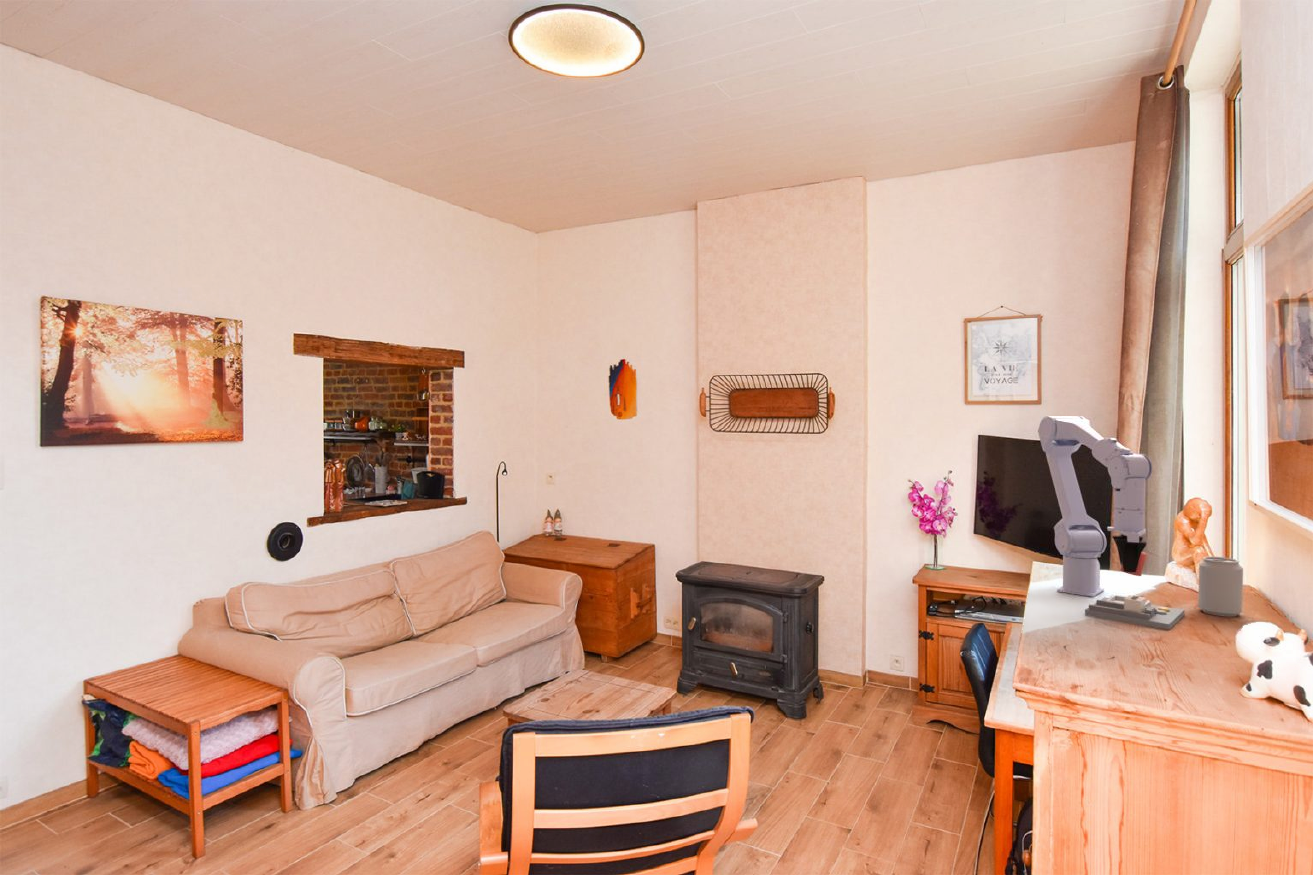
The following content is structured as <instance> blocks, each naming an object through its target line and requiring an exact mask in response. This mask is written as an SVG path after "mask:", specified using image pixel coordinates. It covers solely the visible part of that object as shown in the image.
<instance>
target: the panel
mask: <svg viewBox="0 0 1313 875" xmlns="http://www.w3.org/2000/svg"><path fill="white" fill-rule="evenodd" d="M1126 597H1127V596H1124V595H1118V594H1117V595H1116V594H1115V595H1113V594H1112V595H1111V596H1109V597H1105V596H1104V597H1103V598H1101V599H1096V600H1095V601H1096V602H1095V603H1094V604H1088V607H1086V609H1084V616H1087V617H1091V618H1092V617H1093V618H1099V619H1104V620H1110V621H1115V622H1121V623H1126V624H1130V625H1131V624H1132V625H1137V626H1144V627H1150V628H1156V629H1159V630H1160V629H1161V630H1166V631H1170V630H1171V629H1172V628H1173V627H1174V626H1175V625H1176V624H1177V623H1179V621H1180V620H1182V618H1183V617H1184V616H1185V609H1182V608H1174V607H1169V606H1168V607H1167V606H1163V605H1156V604H1151V601H1150V600H1149V599H1146V604H1145V613H1139V612H1133V611H1127V610H1124V598H1126Z"/></svg>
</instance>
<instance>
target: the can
mask: <svg viewBox="0 0 1313 875" xmlns="http://www.w3.org/2000/svg"><path fill="white" fill-rule="evenodd" d="M1239 563H1240V560H1238V559H1236V558H1235V559H1234V558H1229V557H1225V556H1224V557H1223V556H1204V557H1202V561H1201V562H1200V563H1198V599H1197V600H1198V603H1197V604H1198V605H1197V606H1198V608H1200V609H1201V610H1202V612H1203V613H1206V614H1210V615H1213V616H1220V617H1230V618H1231V617H1232V618H1233V617H1237V616H1238V615H1240V614H1241V613H1242V612H1243V591H1244V590H1243V589H1244V588H1243V587H1244V585H1243V584H1244V568H1243V567H1242V566H1241V565H1240V564H1239Z"/></svg>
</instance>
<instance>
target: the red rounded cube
mask: <svg viewBox="0 0 1313 875" xmlns="http://www.w3.org/2000/svg"><path fill="white" fill-rule="evenodd" d="M1147 558H1148V553H1147V552H1145V551H1142V553H1141V555H1140V559H1139V563H1138V567H1137V570H1136V573H1134V572H1124V569H1123V565H1121V564H1120V568H1119V571H1121V572H1123V573H1125V574H1129V575H1133V576H1136V577H1142V575H1143V571H1144V568H1145V564H1146V562H1147Z"/></svg>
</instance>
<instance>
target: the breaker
mask: <svg viewBox="0 0 1313 875" xmlns="http://www.w3.org/2000/svg"><path fill="white" fill-rule="evenodd" d="M1125 597H1126V598H1124V610H1127V611H1133V612H1139V613H1145V604H1146V600H1147V599H1146V597H1143V596H1137V595H1127V596H1125Z"/></svg>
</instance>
